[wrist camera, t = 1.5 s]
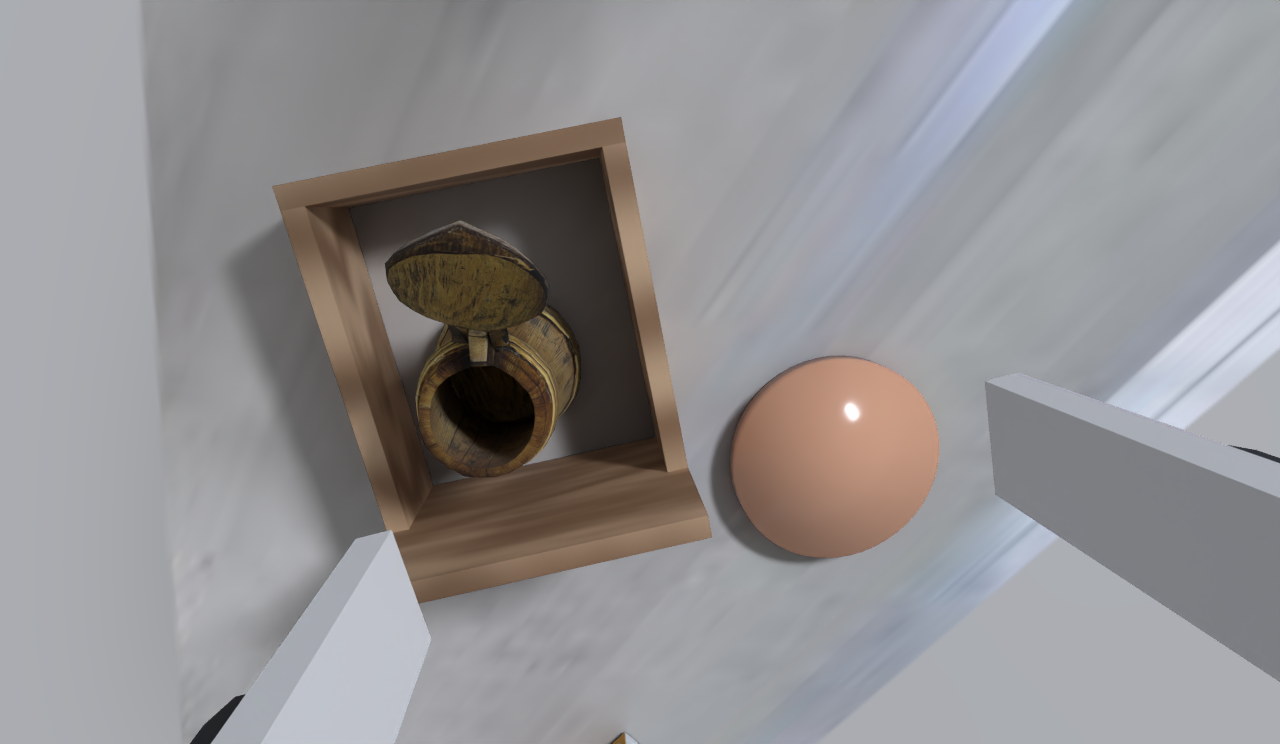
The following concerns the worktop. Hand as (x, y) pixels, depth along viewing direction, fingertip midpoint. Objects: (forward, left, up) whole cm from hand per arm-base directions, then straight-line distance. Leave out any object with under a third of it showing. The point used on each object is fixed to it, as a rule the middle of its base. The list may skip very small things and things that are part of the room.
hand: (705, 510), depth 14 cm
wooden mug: (-1, -7, -28) cm, 28 cm away
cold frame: (-1, -7, -27) cm, 28 cm away
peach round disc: (+12, +12, -27) cm, 32 cm away
